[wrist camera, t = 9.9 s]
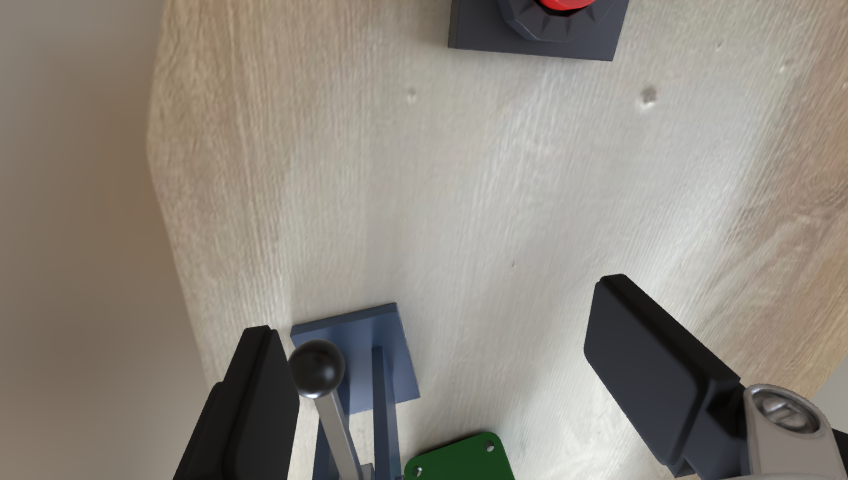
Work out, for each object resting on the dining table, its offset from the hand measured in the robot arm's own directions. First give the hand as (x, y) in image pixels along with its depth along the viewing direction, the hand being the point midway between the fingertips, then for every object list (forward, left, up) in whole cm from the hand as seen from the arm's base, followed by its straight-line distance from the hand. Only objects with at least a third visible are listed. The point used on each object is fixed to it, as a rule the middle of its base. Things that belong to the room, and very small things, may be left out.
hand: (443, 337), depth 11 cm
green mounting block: (+26, -25, -18) cm, 40 cm away
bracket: (+8, -17, -18) cm, 26 cm away
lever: (+4, -14, -8) cm, 17 cm away
